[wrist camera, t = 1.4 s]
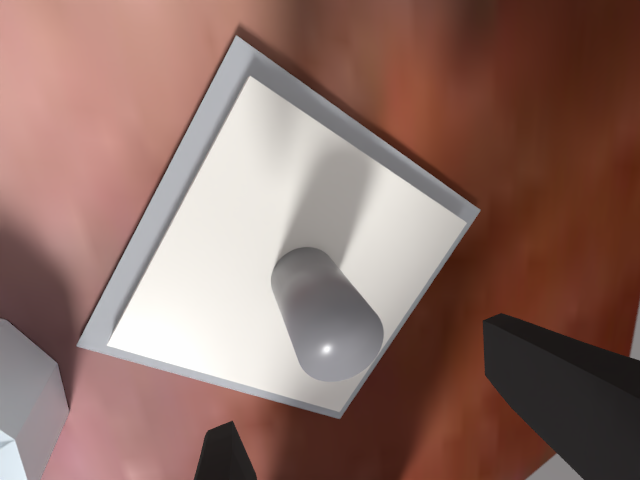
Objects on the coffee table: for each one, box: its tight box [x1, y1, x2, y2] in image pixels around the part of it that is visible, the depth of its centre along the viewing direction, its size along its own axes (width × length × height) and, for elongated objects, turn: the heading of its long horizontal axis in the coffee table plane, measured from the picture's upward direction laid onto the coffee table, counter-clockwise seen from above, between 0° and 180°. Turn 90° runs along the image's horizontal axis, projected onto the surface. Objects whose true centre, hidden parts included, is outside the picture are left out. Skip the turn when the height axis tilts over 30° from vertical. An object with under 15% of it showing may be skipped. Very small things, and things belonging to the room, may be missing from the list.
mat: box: [76, 35, 481, 419], centre depth 17 cm, size 14×14×1 cm
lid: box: [107, 76, 467, 412], centre depth 15 cm, size 12×12×6 cm
